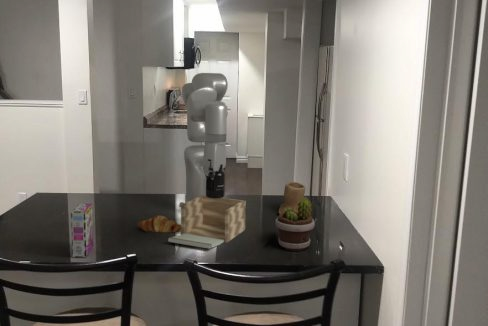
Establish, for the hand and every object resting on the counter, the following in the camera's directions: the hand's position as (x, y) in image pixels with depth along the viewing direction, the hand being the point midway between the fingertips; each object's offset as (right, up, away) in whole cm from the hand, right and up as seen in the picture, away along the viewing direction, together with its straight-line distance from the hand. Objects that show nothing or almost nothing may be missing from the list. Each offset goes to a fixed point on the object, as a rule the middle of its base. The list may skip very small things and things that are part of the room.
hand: (215, 187), depth 168 cm
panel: (-5, -20, +12) cm, 24 cm away
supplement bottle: (0, -3, +1) cm, 4 cm away
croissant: (-23, -19, +22) cm, 38 cm away
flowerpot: (+29, -23, +8) cm, 38 cm away
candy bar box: (-47, -23, -1) cm, 52 cm away
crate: (-2, -20, +19) cm, 28 cm away
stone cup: (+33, -15, +51) cm, 63 cm away
